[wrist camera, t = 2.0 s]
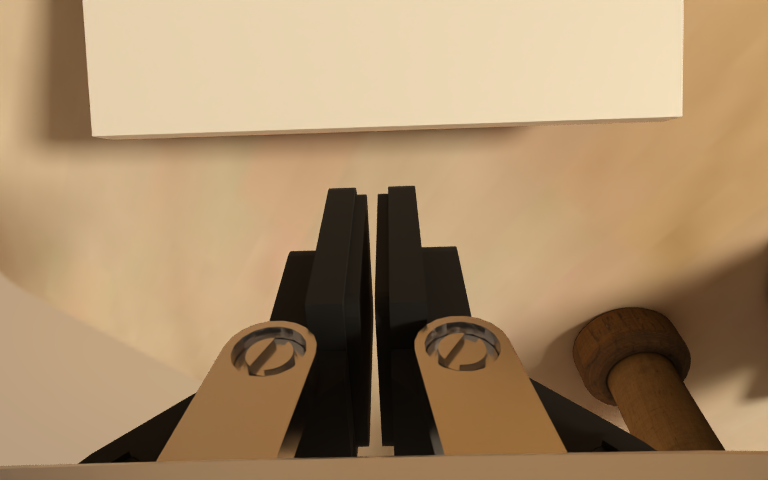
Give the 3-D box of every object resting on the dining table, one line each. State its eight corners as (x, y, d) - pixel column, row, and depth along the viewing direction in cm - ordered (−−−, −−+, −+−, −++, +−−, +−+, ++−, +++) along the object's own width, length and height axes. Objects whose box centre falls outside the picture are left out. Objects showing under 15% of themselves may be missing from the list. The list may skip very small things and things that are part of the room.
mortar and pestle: (558, 376, 39) (675, 689, 23) (592, 298, 36) (753, 601, 20) (651, 388, 39) (827, 703, 24) (693, 314, 36) (927, 619, 20)
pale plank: (663, 121, 25) (682, 116, 23) (111, 139, 25) (92, 136, 24) (665, -88, 24) (684, -108, 22) (97, -64, 24) (76, -82, 23)
